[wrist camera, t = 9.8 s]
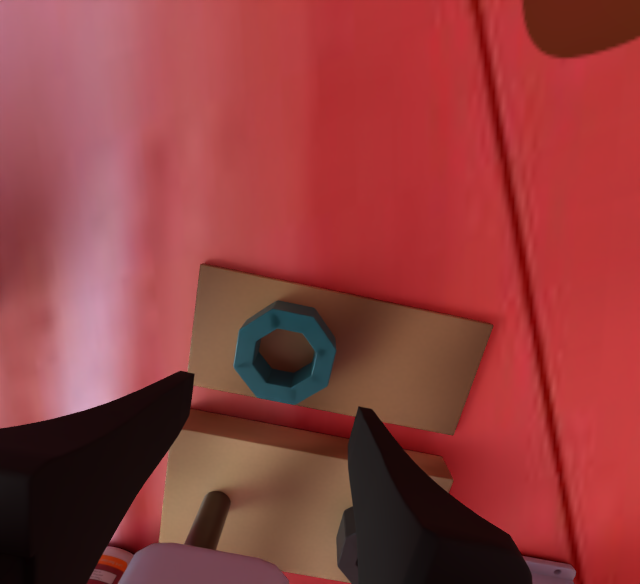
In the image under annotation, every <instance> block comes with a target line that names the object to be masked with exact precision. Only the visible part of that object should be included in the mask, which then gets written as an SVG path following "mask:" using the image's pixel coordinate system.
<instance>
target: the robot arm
mask: <svg viewBox="0 0 640 584" xmlns="http://www.w3.org/2000/svg"><path fill="white" fill-rule="evenodd" d="M194 376H195V374H194V373H188V372H183V371H179V372H177V373H175V374H172V375H170V376H168V377H166V378H164V379H162V380H160V381H158V382H156V383H153V384H151V385H149V386H147V387H145V388H143V389H141V390H138V391H136V392H133V393H131V394H129V395H126V396H124V397H122V398H119V399H117V400H114V401H111V402H109V403H106V404H103V405H100V406H97V407H94V408H91V409H88V410H85V411H81V412H77V413H74V414H70V415H66V416H62V417H58V418H55V419H50V420H46V421H41V422H36V423H31V424H26V425H20V426H14V427H8V428H1V429H0V584H87V582H88V580H89V578H90V577H91V575H92V573H93V571H94V569H95V567H96V565H97V564H98V562H99V560H100V558H101V556H102V554H103V552H104V551H105V549H106V547H107V545H108V544H109V542H110V540H111V538H112V537H113V535H114V533H115V531H116V529H117V528H118V526H119V524H120V522H121V521H122V519H123V517H124V516H125V514H126V512H127V510H128V509H129V507H130V505H131V504H132V502H133V500H134V499H135V497H136V495H137V494H138V492H139V491H140V489H141V488H142V486H143V485H144V483H145V482H146V480H147V479H148V478H149V476H150V475H151V474H152V472H153V471H154V469H155V468H156V467H157V465H158V464H159V462H160V461H161V460H162V458H163V457H164V455H165V454H166V453H167V451H168V450H169V448H170V447H171V446H172V444H173V443H174V441H175V440H176V438H177V437H178V435H179V434H180V432H181V430H182V428H183V426H184V425H185V423H186V421H187V419H188V417H189V415H190V407H191V399H192V392H193V384H194ZM348 473H349V481H350V489H351V496H352V503H353V510H354V518H355V526H356V536H357V558H358V584H574V582H573V579H574V577H575V575H576V571H575V569H574V568H573V566H572V565H570V564H565V563H560V562H554V561H549V560H543V559H537V558H532V557H526V556H522V555H521V553H520V551H519V550H518V548H517V546H516V545H515V543H514V541H513V539H512V538H511V536H510V535H509V534H507V533H506V532H504V531H503V530H501V529H499V528H498V527H496V526H495V525H493V524H491V523H490V522H488V521H487V520H485V519H483V518H482V517H480V516H479V515H477V514H476V513H474V512H473V511H472V510H470V509H469V508H467V507H466V506H465V505H463V504H462V503H461V502H459V501H458V500H457V499H455V498H454V497H453V496H451V495H450V494H449V493H448V492H447V491H445V490H444V489H443V488H442V487H441V486H439V485H438V484H437V483H436V482H435V481H434V480H433V479H432V478H430V477H429V476H428V475H427V474H426V473H425V472H424V471H423V470H422V469H421V468H420V467H419V466H418V465H417V464H416V463H415V462H414V461H413V460H412V459H411V457H410V456H409V455H408V454H407V453H406V452H405V451H404V449H403V448H402V447H401V446H400V445H399V444H398V442H397V441H396V440H395V439H394V437H393V436H392V435H391V433H390V432H389V431H388V429H387V428H386V427H385V425H384V424H383V423H382V421H381V420H380V419H379V417H378V416H377V415H376V413H375V412H374V411H373V409H370V408H365V407H360V406H358V410H357V413H356V417H355V421H354V425H353V428H352V432H351V436H350V439H349V443H348ZM118 584H289V580H288V579H287V577H286V576H285V575H284V574H283V573H282V572H281V571H280V569H279V568H278V567H277V566H276V565H275V564H273V563H270V562H268V561H265V560H263V559H260V558H256V557H251V556H245V555H240V554H234V553H229V552H223V551H218V550H212V549H206V548H201V547H195V546H190V545H184V544H179V543H153V544H151V545H149V546H147V547H145V548H143V549H141V550H139V551H138V552H136V553H135V554H134V556H133V558H132V560H131V562H130V563H129V565H128V567H127V569H126V570H125V572H124V574H123V576H122V577H121V579H120V581H119V583H118Z"/></svg>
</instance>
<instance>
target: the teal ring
mask: <svg viewBox="0 0 640 584" xmlns="http://www.w3.org/2000/svg"><path fill="white" fill-rule="evenodd" d="M277 328H278V329H283V330H288V331H292V332H297V333H302V334H303V335H304V336H305V338H306V339H307V341H308V342H309V343H310V345H311V346H312V348H313V349H314V351H315V352H314V356H313V361H312V362H311V363H309V364H308V365H306V366H304V367H303V368H301V369H299V370H298V371H296V372H294V373H292V372H287V371H282V370H277V369H272V368H271V367H270V366H269V364H268V363H267V362H266V360H265V359H264V358H263V356H262V355H261V354H260V352H259V348H260V342H261V338H263V337H264V336H266V335H268V334H269V333H271V332H272V331H274V330H276V329H277ZM335 355H336V340H335V337H334V335H333V334H332V332H331V331H330V329H329V328H328V326H327V325H326V323H325V322H324V320H323V319H322V318H321V316H320V315H319V313H318V312H317V310H316V309H315V308H313V307H308V306H303V305H299V304H294V303H289V302H284V301H279V300H277V301H275V302H274V303H272V304H270V305H269V306H267V307H266V308H264V309H263V310H261V311H259V312H258V313H256V314H255V315H253V316H252V317H250V318H249V319H247V320H246V321H245V323H244V324H243V325H242V327H241V328H240V329H239V331H238V338H237V344H236V351H235V357H234V363H233V367H234V369H235V370H236V372H237V373H238V374H239V375H240V377H241V378H242V379H243V381H244V382H245V383H246V384H247V386H248V387H249V388H250V390H251V391H252V392H253V393H254V395H255V396H256V397H257V398H261V399H266V400H271V401H277V402H282V403H287V404H292V405H296V404H298V403H300V402H301V401H303V400H305V399H306V398H308V397H310V396H312V395H313V394H315V393H317V392H319V391H320V390H322V389H324V388H326V387H327V386H328V384H329V380H330V376H331V372H332V368H333V363H334V359H335Z"/></svg>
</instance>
